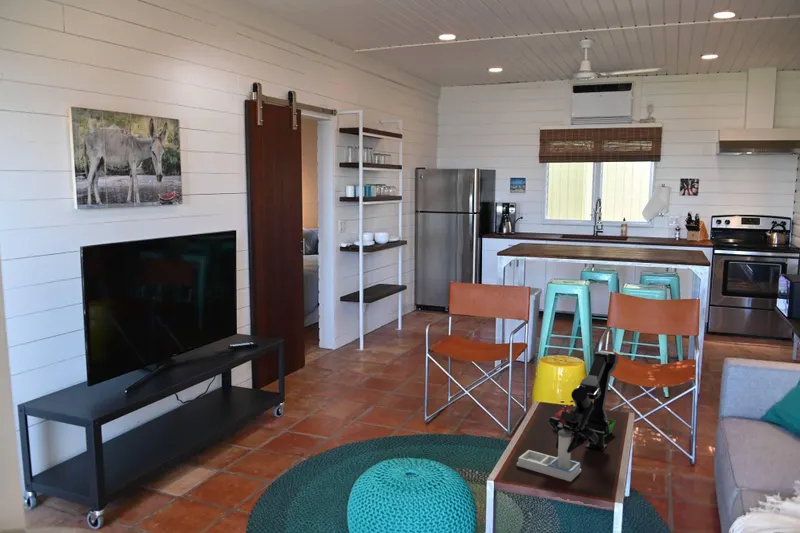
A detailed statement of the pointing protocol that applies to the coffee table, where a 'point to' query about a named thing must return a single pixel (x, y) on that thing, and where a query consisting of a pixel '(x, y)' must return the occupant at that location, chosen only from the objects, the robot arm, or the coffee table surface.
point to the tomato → (560, 414)
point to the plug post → (564, 448)
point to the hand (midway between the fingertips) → (562, 450)
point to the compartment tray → (548, 465)
